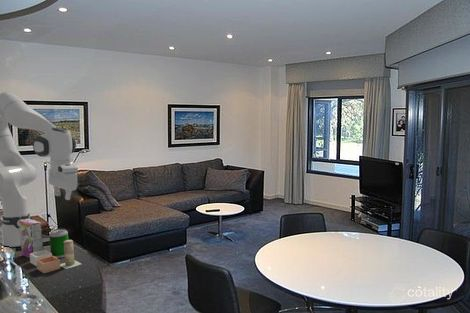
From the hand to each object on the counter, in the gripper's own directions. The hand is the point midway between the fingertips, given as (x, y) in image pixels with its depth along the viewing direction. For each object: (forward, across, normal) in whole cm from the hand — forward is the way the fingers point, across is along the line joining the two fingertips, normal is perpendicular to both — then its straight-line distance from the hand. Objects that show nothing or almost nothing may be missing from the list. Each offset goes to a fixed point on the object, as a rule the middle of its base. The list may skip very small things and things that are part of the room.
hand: (62, 197), depth 175 cm
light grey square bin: (+28, -3, -9) cm, 29 cm away
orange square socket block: (+28, +7, -10) cm, 30 cm away
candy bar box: (+29, -15, -8) cm, 33 cm away
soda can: (+28, -5, 0) cm, 29 cm away
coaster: (+28, +9, -2) cm, 29 cm away
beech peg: (+27, +9, -2) cm, 28 cm away
